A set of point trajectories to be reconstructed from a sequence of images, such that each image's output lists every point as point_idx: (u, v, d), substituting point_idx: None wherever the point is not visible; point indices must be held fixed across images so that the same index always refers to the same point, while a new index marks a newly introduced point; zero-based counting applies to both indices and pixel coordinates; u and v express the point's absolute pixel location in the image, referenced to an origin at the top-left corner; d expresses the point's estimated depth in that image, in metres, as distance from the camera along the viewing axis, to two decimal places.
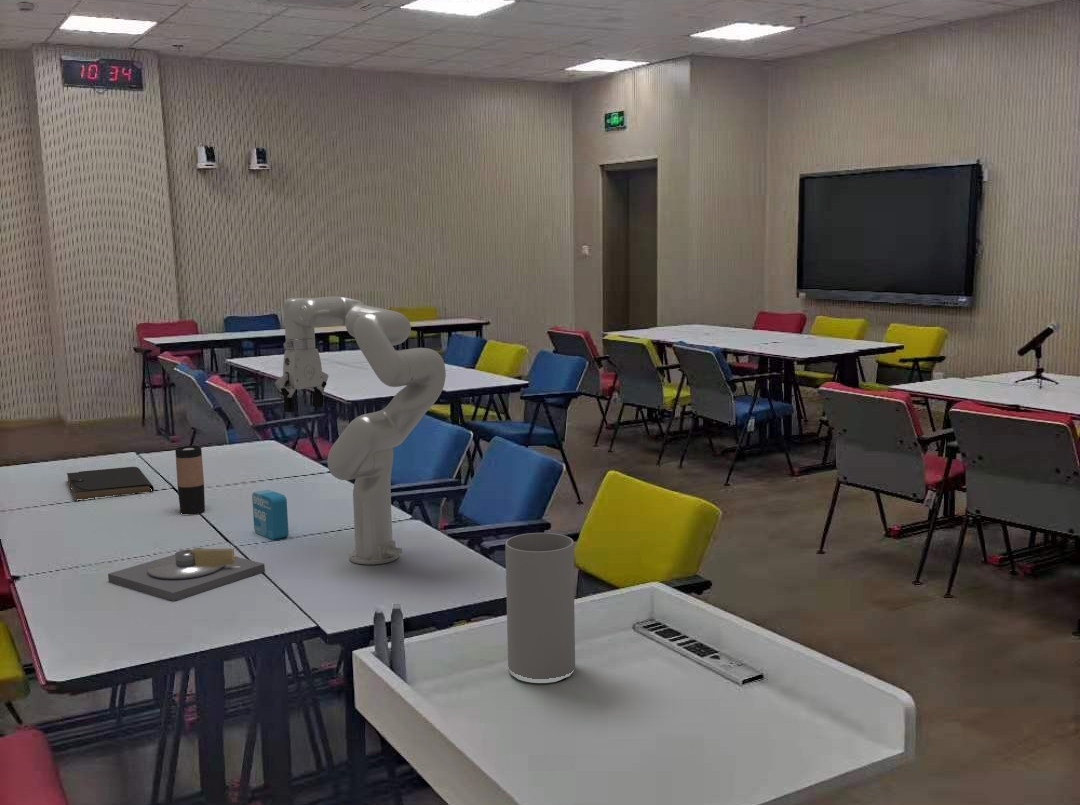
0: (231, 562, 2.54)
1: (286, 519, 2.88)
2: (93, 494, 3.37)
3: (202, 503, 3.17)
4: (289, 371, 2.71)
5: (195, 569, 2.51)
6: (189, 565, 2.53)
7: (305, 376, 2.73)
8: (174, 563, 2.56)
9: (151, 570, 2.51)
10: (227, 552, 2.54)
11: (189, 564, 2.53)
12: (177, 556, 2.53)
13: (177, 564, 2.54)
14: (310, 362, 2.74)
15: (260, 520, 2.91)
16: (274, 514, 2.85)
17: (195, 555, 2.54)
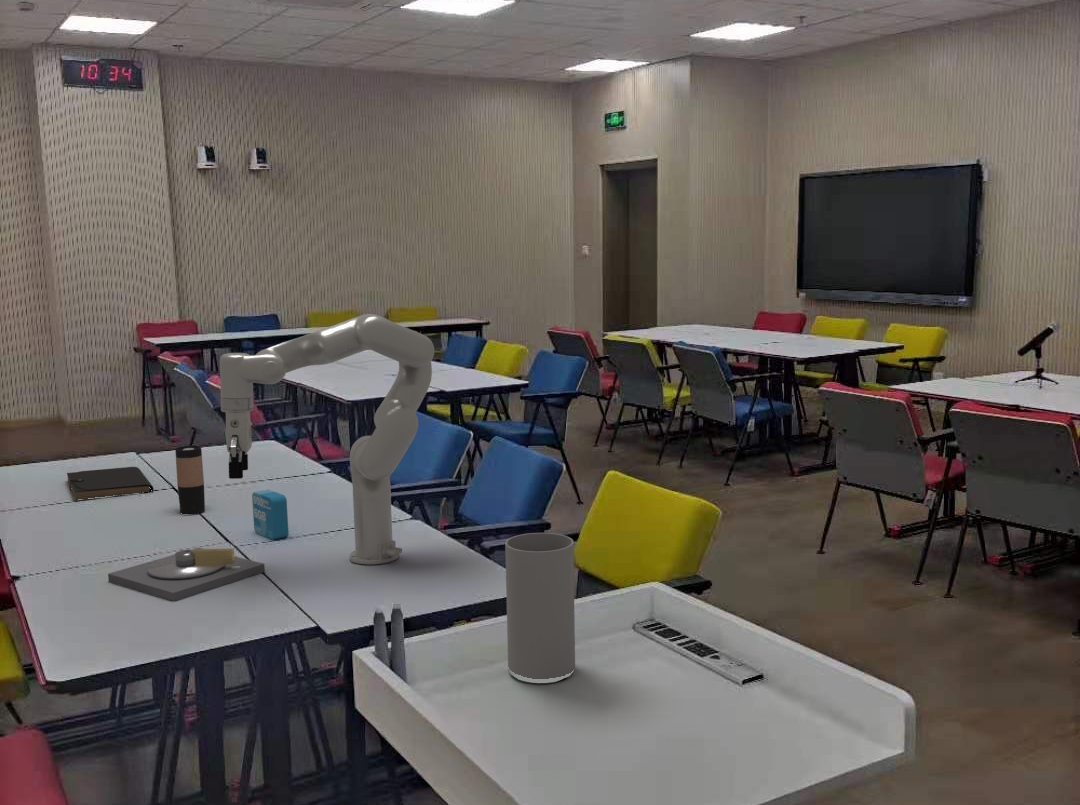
0: (231, 562, 2.54)
1: (286, 519, 2.88)
2: (93, 494, 3.37)
3: (202, 503, 3.17)
4: (239, 434, 2.48)
5: (195, 569, 2.51)
6: (189, 565, 2.53)
7: (249, 438, 2.52)
8: (174, 563, 2.56)
9: (151, 570, 2.51)
10: (227, 552, 2.54)
11: (189, 564, 2.53)
12: (177, 556, 2.53)
13: (177, 564, 2.54)
14: (249, 422, 2.53)
15: (260, 520, 2.91)
16: (274, 514, 2.85)
17: (195, 555, 2.54)
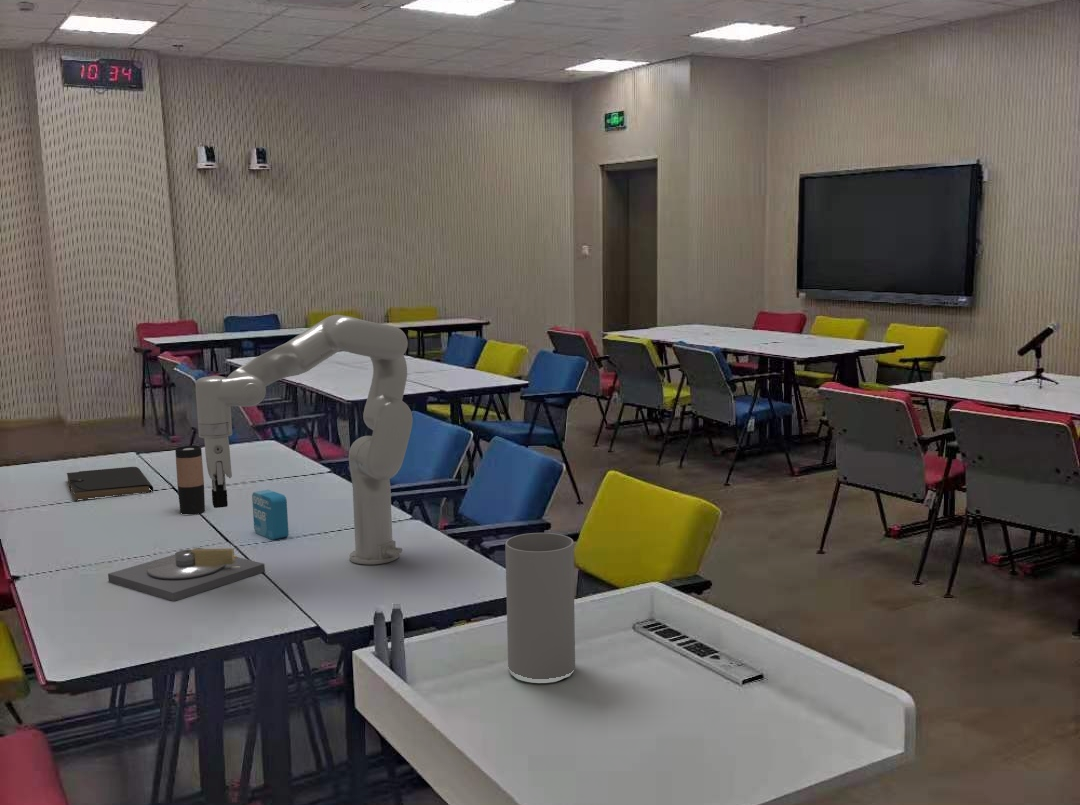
0: (231, 562, 2.54)
1: (286, 519, 2.88)
2: (92, 494, 3.37)
3: (202, 503, 3.17)
4: (223, 459, 2.41)
5: (195, 569, 2.51)
6: (189, 565, 2.53)
7: None
8: (174, 563, 2.56)
9: (151, 570, 2.51)
10: (227, 552, 2.54)
11: (189, 564, 2.53)
12: (177, 556, 2.53)
13: (177, 564, 2.54)
14: None
15: (260, 520, 2.91)
16: (274, 514, 2.85)
17: (195, 555, 2.54)
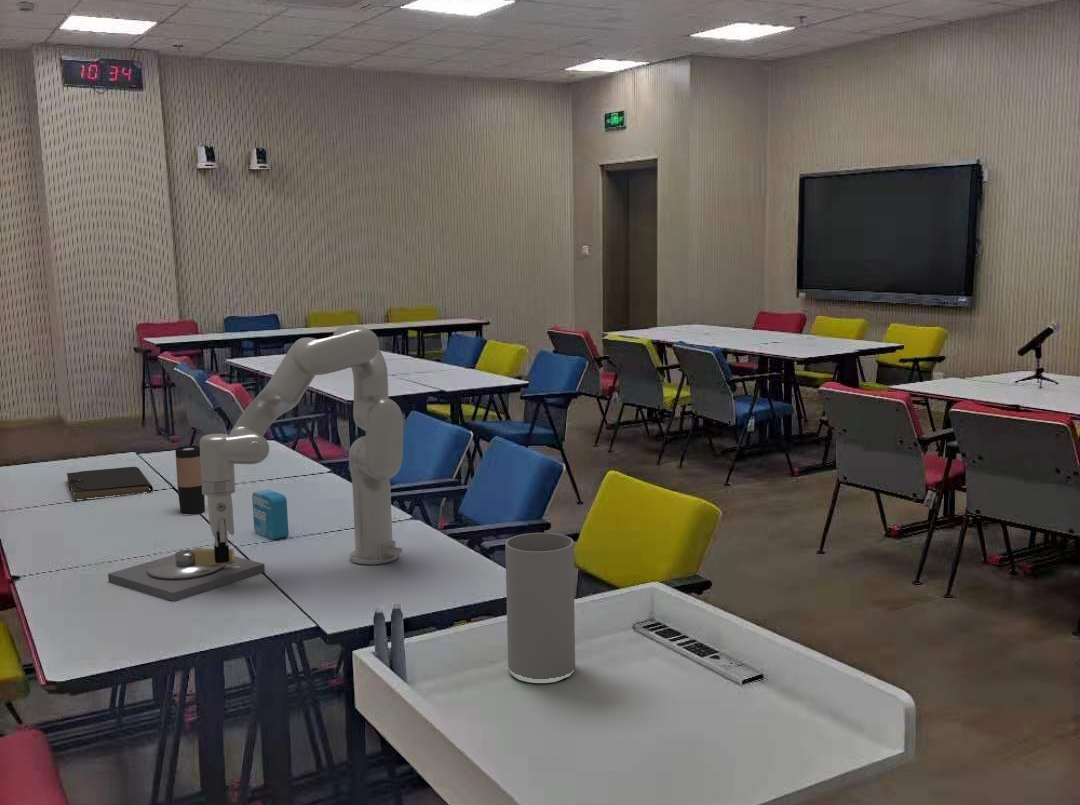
0: (231, 562, 2.54)
1: (286, 519, 2.88)
2: (92, 494, 3.37)
3: (202, 503, 3.17)
4: (225, 517, 2.43)
5: (195, 569, 2.51)
6: (189, 565, 2.53)
7: None
8: (174, 563, 2.56)
9: (151, 570, 2.51)
10: None
11: (189, 564, 2.53)
12: (177, 556, 2.53)
13: (177, 564, 2.54)
14: None
15: (260, 520, 2.91)
16: (274, 514, 2.85)
17: (195, 555, 2.54)
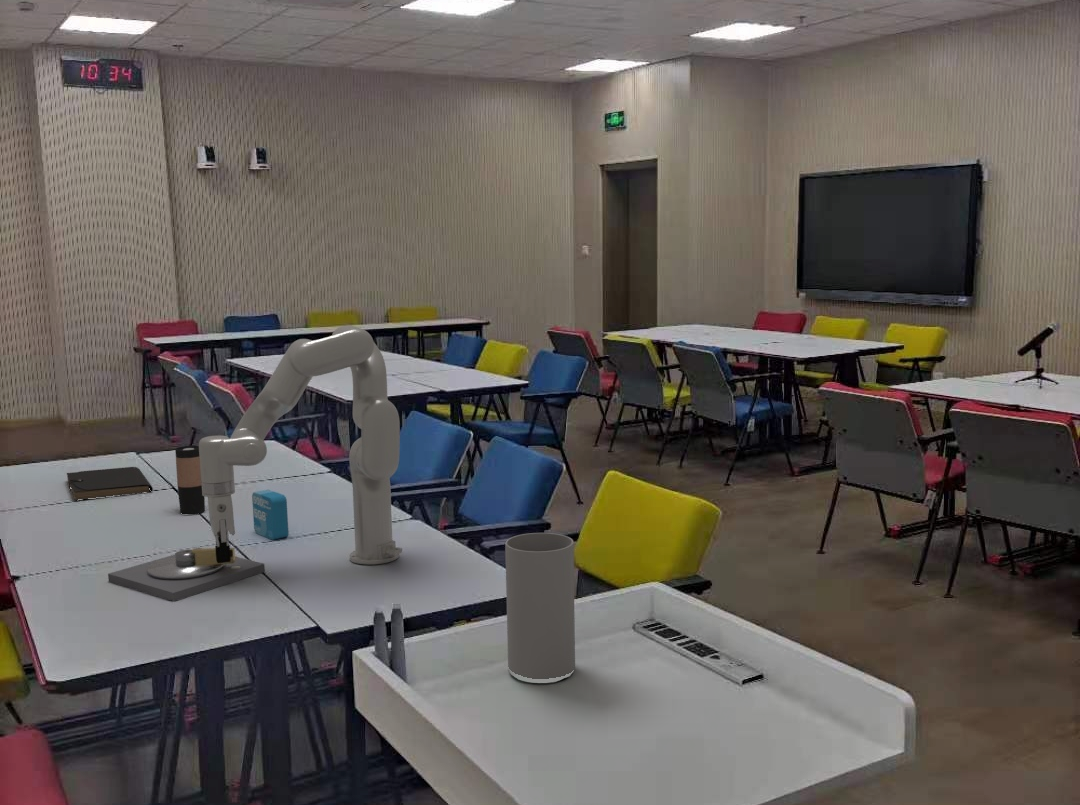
0: (232, 561, 2.55)
1: (286, 519, 2.88)
2: (92, 494, 3.37)
3: (202, 503, 3.17)
4: (226, 517, 2.47)
5: (196, 569, 2.51)
6: (190, 565, 2.53)
7: None
8: (174, 563, 2.56)
9: (152, 571, 2.50)
10: None
11: (190, 564, 2.53)
12: (177, 556, 2.53)
13: (177, 564, 2.53)
14: None
15: (260, 520, 2.91)
16: (274, 514, 2.85)
17: (195, 555, 2.54)
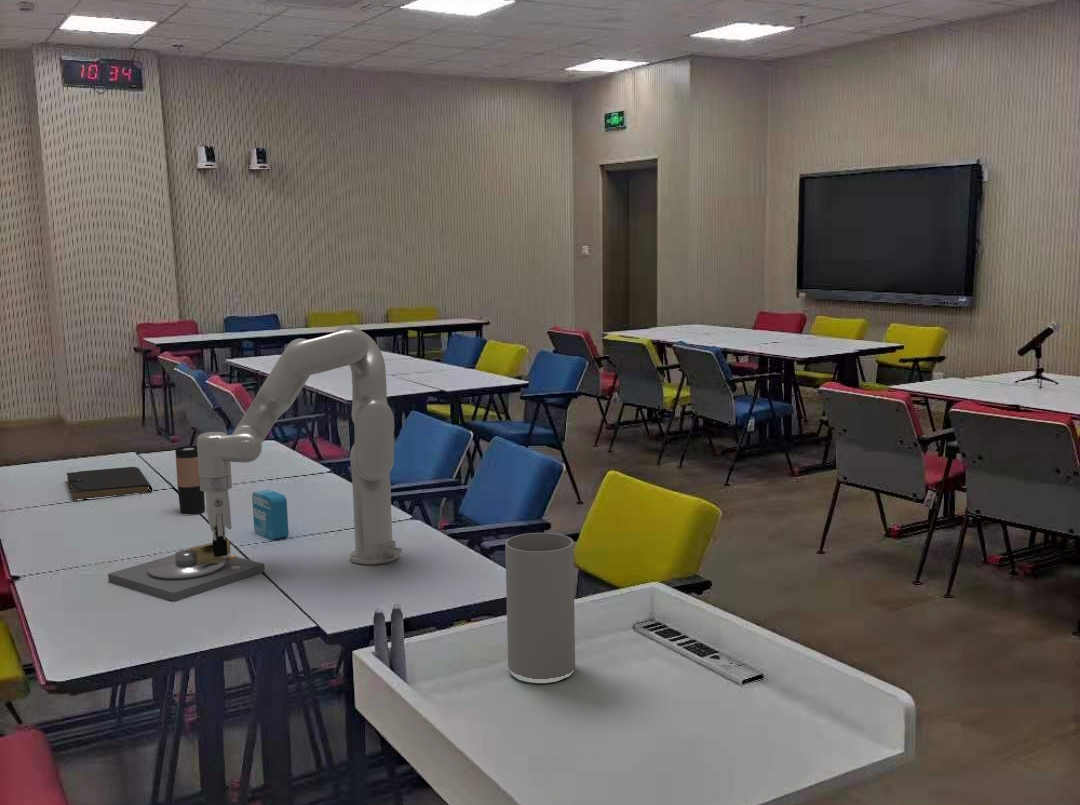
0: (229, 552, 2.63)
1: (286, 519, 2.88)
2: (91, 494, 3.37)
3: (202, 503, 3.17)
4: (223, 512, 2.52)
5: (210, 564, 2.55)
6: (196, 563, 2.55)
7: None
8: (173, 566, 2.53)
9: (170, 574, 2.47)
10: None
11: (196, 562, 2.55)
12: (185, 556, 2.53)
13: (184, 565, 2.53)
14: None
15: (260, 520, 2.91)
16: (274, 514, 2.85)
17: (197, 552, 2.56)
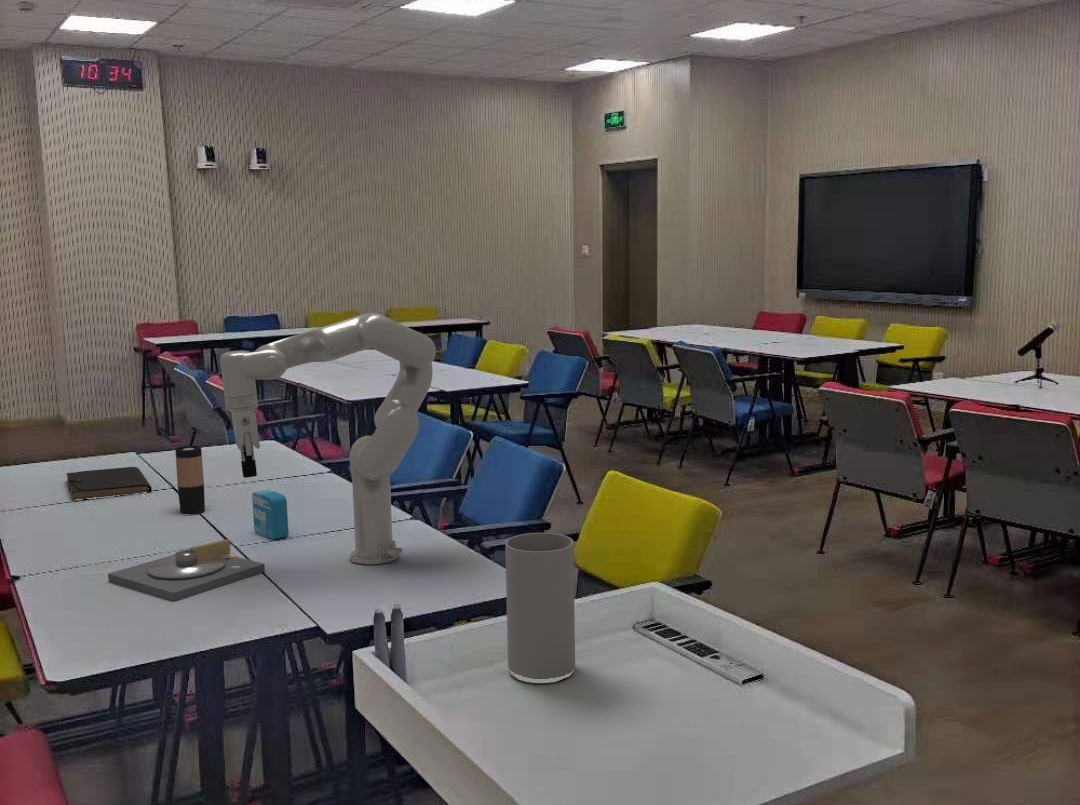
0: (229, 552, 2.63)
1: (286, 519, 2.88)
2: (91, 494, 3.37)
3: (202, 503, 3.17)
4: (250, 431, 2.49)
5: (210, 564, 2.55)
6: (196, 563, 2.55)
7: None
8: (173, 566, 2.53)
9: (170, 574, 2.47)
10: (225, 543, 2.62)
11: (196, 562, 2.55)
12: (185, 556, 2.53)
13: (184, 565, 2.53)
14: None
15: (260, 520, 2.91)
16: (274, 514, 2.85)
17: (197, 552, 2.56)
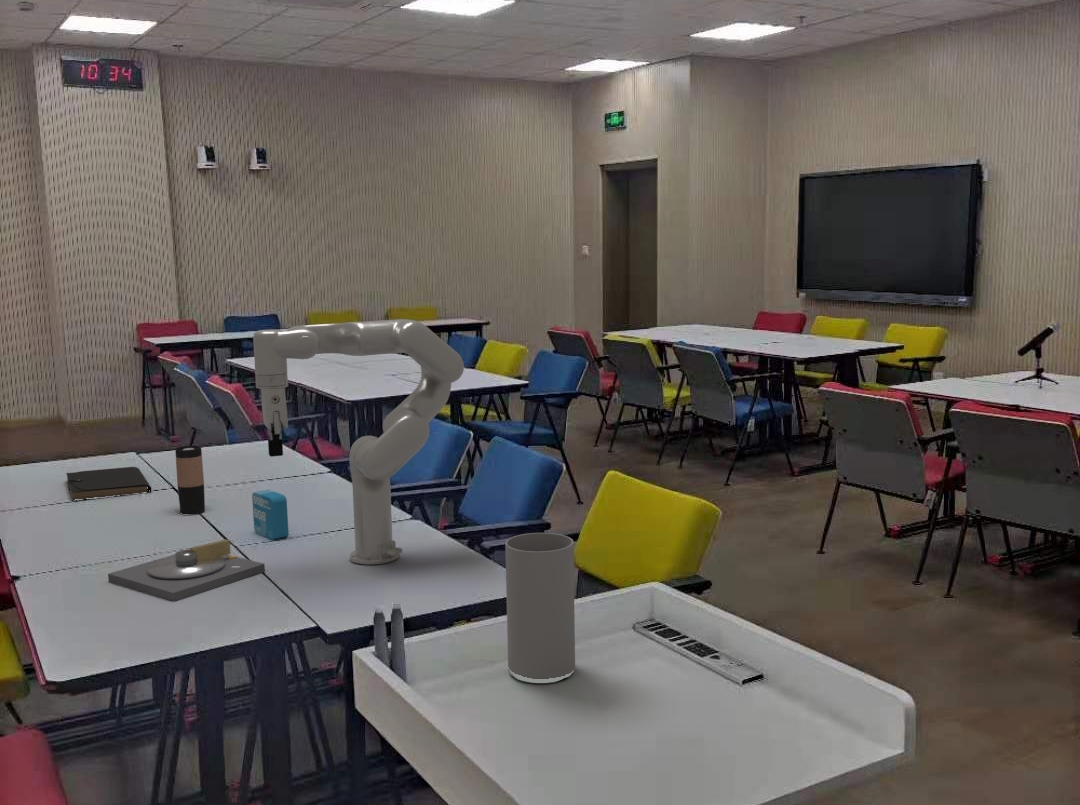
0: (229, 552, 2.63)
1: (286, 519, 2.88)
2: (90, 494, 3.37)
3: (202, 503, 3.17)
4: (280, 409, 2.49)
5: (210, 564, 2.55)
6: (196, 563, 2.55)
7: None
8: (173, 566, 2.53)
9: (170, 574, 2.47)
10: (225, 543, 2.62)
11: (196, 562, 2.55)
12: (185, 556, 2.53)
13: (184, 565, 2.53)
14: None
15: (260, 520, 2.91)
16: (274, 514, 2.85)
17: (197, 552, 2.56)
